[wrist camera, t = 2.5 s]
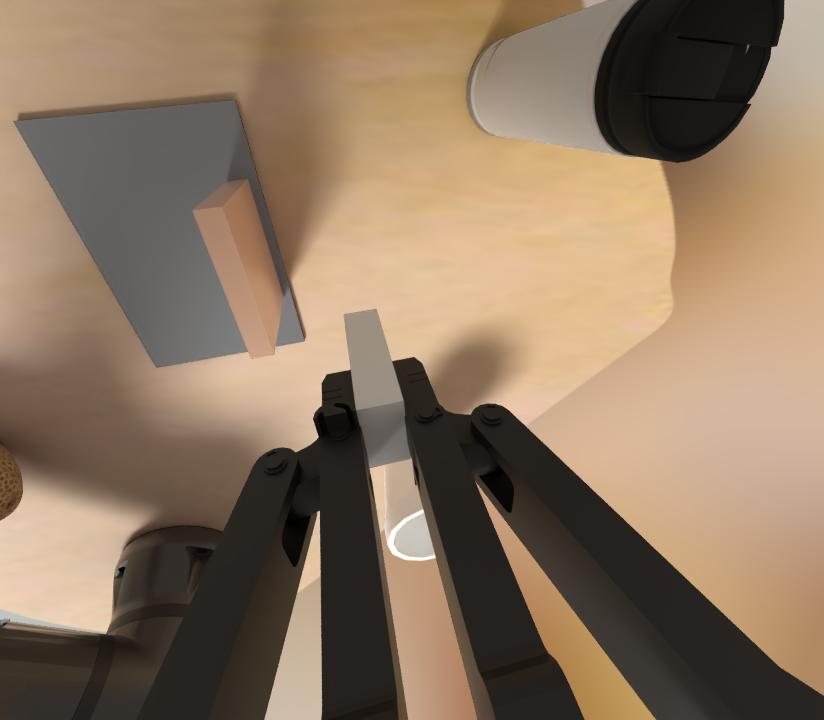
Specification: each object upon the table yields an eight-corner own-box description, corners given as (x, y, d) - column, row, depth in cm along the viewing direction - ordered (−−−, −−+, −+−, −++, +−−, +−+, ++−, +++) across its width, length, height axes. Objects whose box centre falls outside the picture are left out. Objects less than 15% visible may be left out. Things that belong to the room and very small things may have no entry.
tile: (263, 300, 35) (247, 359, 27) (223, 181, 29) (187, 211, 21) (283, 297, 35) (274, 354, 27) (247, 178, 29) (222, 206, 21)
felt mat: (157, 365, 36) (156, 367, 36) (17, 120, 25) (13, 121, 25) (304, 339, 38) (304, 341, 38) (235, 99, 27) (234, 99, 26)
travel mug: (466, 34, 28) (684, -70, 11) (548, 41, 29) (851, -43, 13) (457, 134, 31) (615, 164, 15) (531, 136, 32) (751, 167, 16)
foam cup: (454, 423, 49) (492, 510, 39) (424, 471, 53) (451, 561, 43) (387, 410, 46) (409, 501, 35) (361, 462, 50) (373, 558, 39)
